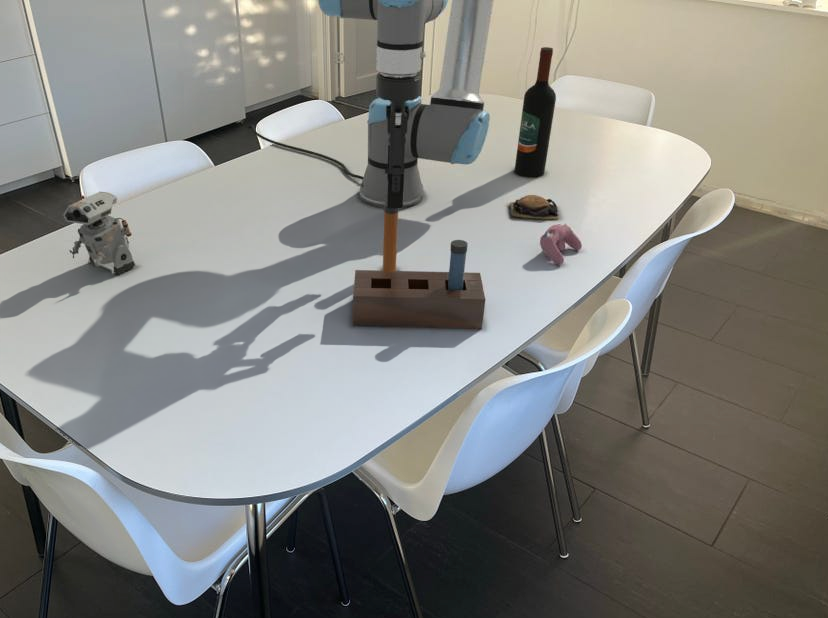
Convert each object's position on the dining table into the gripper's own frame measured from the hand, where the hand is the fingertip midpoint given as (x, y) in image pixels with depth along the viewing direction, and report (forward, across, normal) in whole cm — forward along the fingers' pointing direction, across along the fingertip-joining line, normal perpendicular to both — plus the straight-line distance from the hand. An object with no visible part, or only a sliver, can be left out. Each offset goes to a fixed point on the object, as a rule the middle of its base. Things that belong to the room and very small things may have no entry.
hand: (394, 192), depth 135 cm
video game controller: (+17, +9, -34) cm, 39 cm away
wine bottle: (+16, +55, -36) cm, 68 cm away
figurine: (+17, -1, +57) cm, 59 cm away
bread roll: (+17, +30, -33) cm, 48 cm away
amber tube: (+16, +1, 0) cm, 17 cm away
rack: (+16, -15, -4) cm, 23 cm away
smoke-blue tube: (+16, -15, -11) cm, 25 cm away
